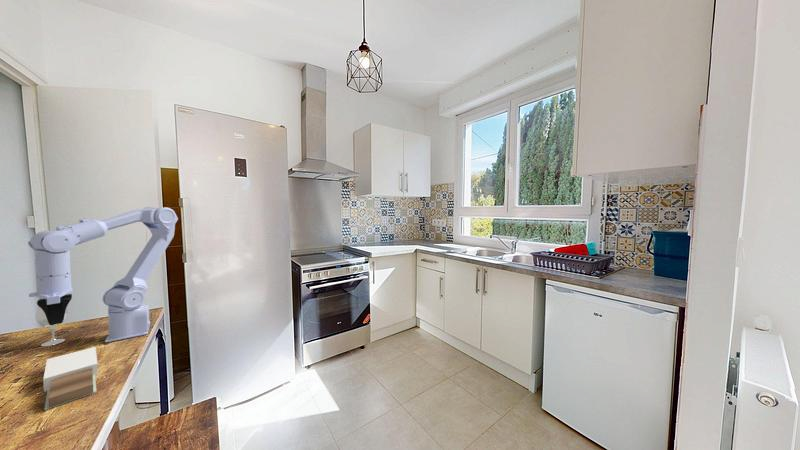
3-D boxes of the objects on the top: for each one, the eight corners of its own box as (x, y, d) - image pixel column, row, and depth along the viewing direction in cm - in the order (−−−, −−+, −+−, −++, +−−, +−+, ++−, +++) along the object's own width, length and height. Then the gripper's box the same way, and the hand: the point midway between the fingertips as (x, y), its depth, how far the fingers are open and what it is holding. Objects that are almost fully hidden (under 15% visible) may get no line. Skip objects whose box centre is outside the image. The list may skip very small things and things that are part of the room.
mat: (47, 390, 59) (47, 389, 59) (94, 375, 65) (94, 374, 64) (44, 410, 53) (44, 408, 53) (96, 392, 59) (96, 391, 59)
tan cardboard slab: (51, 388, 59) (51, 380, 59) (92, 376, 64) (92, 368, 64) (48, 408, 54) (48, 398, 54) (93, 392, 58) (93, 384, 58)
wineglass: (72, 340, 81) (70, 302, 81) (42, 349, 76) (40, 309, 75) (63, 336, 83) (61, 300, 82) (33, 345, 78) (31, 306, 77)
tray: (47, 370, 66) (47, 359, 66) (95, 357, 72) (95, 346, 72) (43, 391, 59) (43, 379, 58) (98, 374, 65) (97, 363, 65)
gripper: (31, 272, 72) (33, 320, 72) (24, 282, 62) (27, 337, 63) (72, 268, 77) (74, 313, 78) (71, 277, 68) (73, 327, 69)
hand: (56, 323), depth 71 cm, fingers closed
